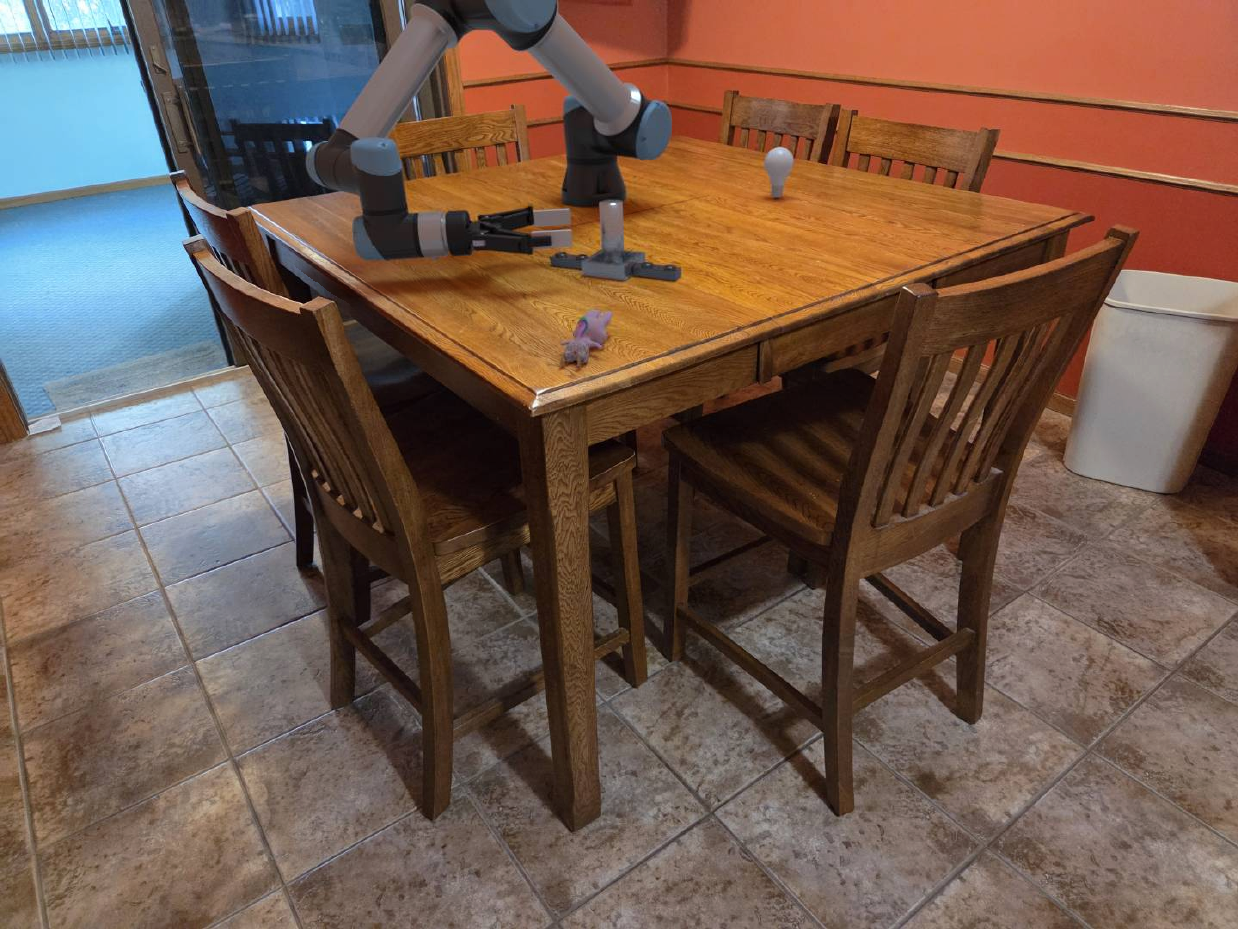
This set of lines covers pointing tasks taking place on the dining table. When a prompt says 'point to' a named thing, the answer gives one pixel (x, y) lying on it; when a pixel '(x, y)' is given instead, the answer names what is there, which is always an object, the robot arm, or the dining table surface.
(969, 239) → the dining table surface
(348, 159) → the robot arm
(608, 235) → the pin
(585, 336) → the purple toy figure
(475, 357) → the dining table surface
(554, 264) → the grey mounting bracket
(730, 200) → the dining table surface
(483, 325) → the dining table surface
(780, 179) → the lightbulb
